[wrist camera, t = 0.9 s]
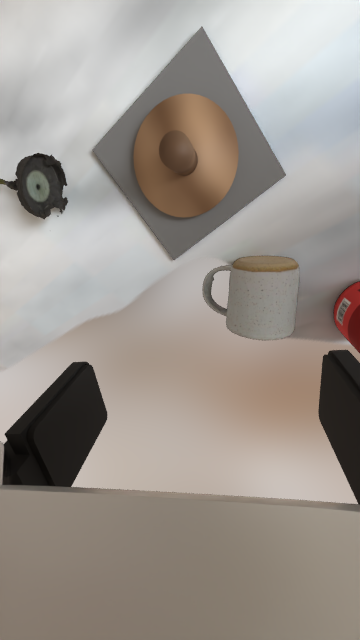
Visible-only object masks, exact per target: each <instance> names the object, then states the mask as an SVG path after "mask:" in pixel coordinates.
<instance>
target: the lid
mask: <svg viewBox="0 0 360 640" xmlns="http://www.w3.org/2000/svg"><path fill="white" fill-rule="evenodd" d="M238 155H239V150H238V141H237V137H236V133H235V130H234V127H233V125H232V123H231V121H230V119H229V117H228V116H227V115H226V113H225V112H224V111H223V110H222V109H221V108H220V106H218V105H217V104H216V103H215V102H213V101H212V100H210V99H208V98H206V97H203V96H201V95H196V94H179V95H175V96H172V97H169V98H167V99H165V100H163V101H162V102H160V103H159V104H158V105H156V106H155V107H154V108H153V109H152V110H151V111H150V113H149V114H148V115H147V116H146V118H145V119H144V121H143V123H142V124H141V127H140V129H139V131H138V134H137V137H136V141H135V146H134V169H135V174H136V178H137V181H138V184H139V186H140V188H141V190H142V192H143V193H144V195H145V196H146V198H147V199H148V200H149V201H150V202H151V203H152V204H153V205H154V206H155V207H156V208H158V209H159V210H160V211H162V212H164V213H166V214H169V215H171V216H175V217H184V218H185V217H193V216H198V215H200V214H203V213H205V212H207V211H209V210H211V209H212V208H214V207H215V206H216V205H217V204H218V203H219V202H220V201H221V200H222V199H223V198H224V197H225V195H226V194H227V192H228V191H229V189H230V187H231V185H232V183H233V180H234V178H235V175H236V171H237V166H238Z"/></svg>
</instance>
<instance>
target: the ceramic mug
mask: <svg viewBox="0 0 360 640" xmlns="http://www.w3.org/2000/svg"><path fill="white" fill-rule="evenodd" d="M222 270H230V271H231V273H230V281H229V297H228V306H227V309H225V308H222V307H221V306H219V305H218V304H217V303H216V302H215V301H214V300H213V299H212V296H211V287H212V281H213V280H214V278H213V275H214V274H215V273H216V272H218V271H222ZM299 279H300V276H299V265H298V263H297V262H296V261H295V260H294V259H291V258H287V257H279V256H250V257H243V258H239V259H237V260H236V261H235V262H234V263H233V266H231V265H226V266H221V267H218V268H215V269H213V270H212V271H210V272H209V273H208V274H207V276H206V277H205V279H204V283H203V297H204V300H205V301H206V303H207V304H208V305H209V306H210V307H211V308H212V309H213V310H214V311H216V312H218V313H220V314H222V315H225V316H227V319H226V325H227V328H228V329H229V330H230V331H231V332H233V333H235V334H237V335H239V336H242V337H246V338H250V339H256V340H278V339H283V338H286V337H288V336H290V335H291V334H292V333H293V332H294V328H295V317H296V308H297V296H298V288H299Z"/></svg>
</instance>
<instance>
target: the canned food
mask: <svg viewBox="0 0 360 640" xmlns="http://www.w3.org/2000/svg"><path fill="white" fill-rule="evenodd" d="M334 320H335V324H336V326H337V328H338V329H339V331H340V332H341V333H342V334H343V335H344V336H345V337H346V339H347V340H348V341H349V342H350V343H351V344H352V345H353V346H354V347H355V349H356V350H357V351H358V352H359V353H360V281H359V282H356V283H354V284H353V285H351V286H349V287H348V288H347V289H345V290H344V291H343V292H342V294H341V295H340V296H339V298H338V299H337V301H336V304H335V306H334Z"/></svg>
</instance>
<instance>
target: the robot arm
mask: <svg viewBox="0 0 360 640" xmlns="http://www.w3.org/2000/svg"><path fill="white" fill-rule="evenodd" d="M319 419H320V422H321V424H322V426H323V428H324V430H325V433H326V435H327V437H328V439H329V441H330V443H331V446H332V448H333V450H334V452H335V454H336V456H337V459H338V461H339V463H340V465H341V467H342V469H343V472H344V474H345V476H346V478H347V480H348V482H349V484H350V487H351V489H352V491H353V493H354V495H355V497H356V499H357V502H358V504H346V503H333V502H321V501H307V500H294V499H277V498H260V497H244V496H227V495H211V494H194V493H176V492H158V491H156V492H155V491H139V490H120V489H100V488H99V489H98V488H79V487H71V486H72V484H73V482H74V480H75V478H76V477H77V475H78V473H79V471H80V469H81V467H82V465H83V463H84V461H85V460H86V458H87V456H88V454H89V452H90V450H91V449H92V447H93V445H94V443H95V441H96V439H97V437H98V436H99V434H100V432H101V430H102V428H103V426H104V424H105V422H106V420H107V411H106V408H105V405H104V402H103V398H102V395H101V392H100V389H99V385H98V382H97V379H96V376H95V373H94V370H93V367H92V366H91V365H89V363H88V362H73V363H72V364H71V365H70V366H69V367H68V368H67V369H66V370H65V371H64V372H63V373H62V374H61V375H60V376H59V377H58V378H57V380H56V381H55V382H54V383H53V384H52V385H51V386H50V387H49V388H48V389H47V390H46V391H45V392H44V393H43V394H42V395H41V396H40V397H39V398H38V399H37V400H36V402H35V403H34V404H33V405H32V406H31V407H30V408H29V409H28V410H27V411H26V412H25V413H24V414H23V415H22V416H21V417H20V418H19V419H18V420H17V421H16V422H15V424H14V425H13V426H12V427H11V428H10V429H9V430H8V431H7V432H6V433H5V436H6V437H7V442H6V443H5V444H3V443H2V442H1V441H0V640H360V363H359V362H358V361H357V359H356V358H355V357H354V356H353V355H352V354H351V353H350V352H349V351H348V350H333V351H329V353H328V355H324V356H323V363H322V375H321V387H320V399H319Z"/></svg>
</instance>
